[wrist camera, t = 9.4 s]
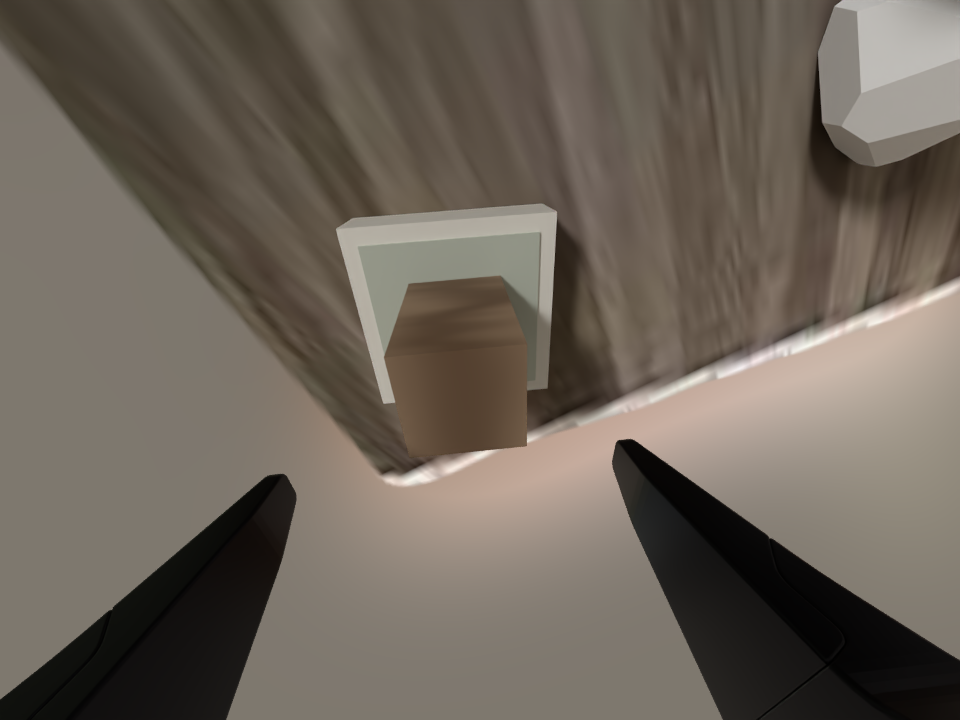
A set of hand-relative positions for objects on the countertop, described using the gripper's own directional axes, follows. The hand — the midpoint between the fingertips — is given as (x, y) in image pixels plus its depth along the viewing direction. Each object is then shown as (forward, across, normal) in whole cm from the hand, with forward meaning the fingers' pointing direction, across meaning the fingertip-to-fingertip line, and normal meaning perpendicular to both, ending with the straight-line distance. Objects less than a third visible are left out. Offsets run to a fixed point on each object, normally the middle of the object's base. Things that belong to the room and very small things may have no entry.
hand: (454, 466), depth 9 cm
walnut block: (+10, 0, 0) cm, 10 cm away
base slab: (+13, 0, 0) cm, 13 cm away
